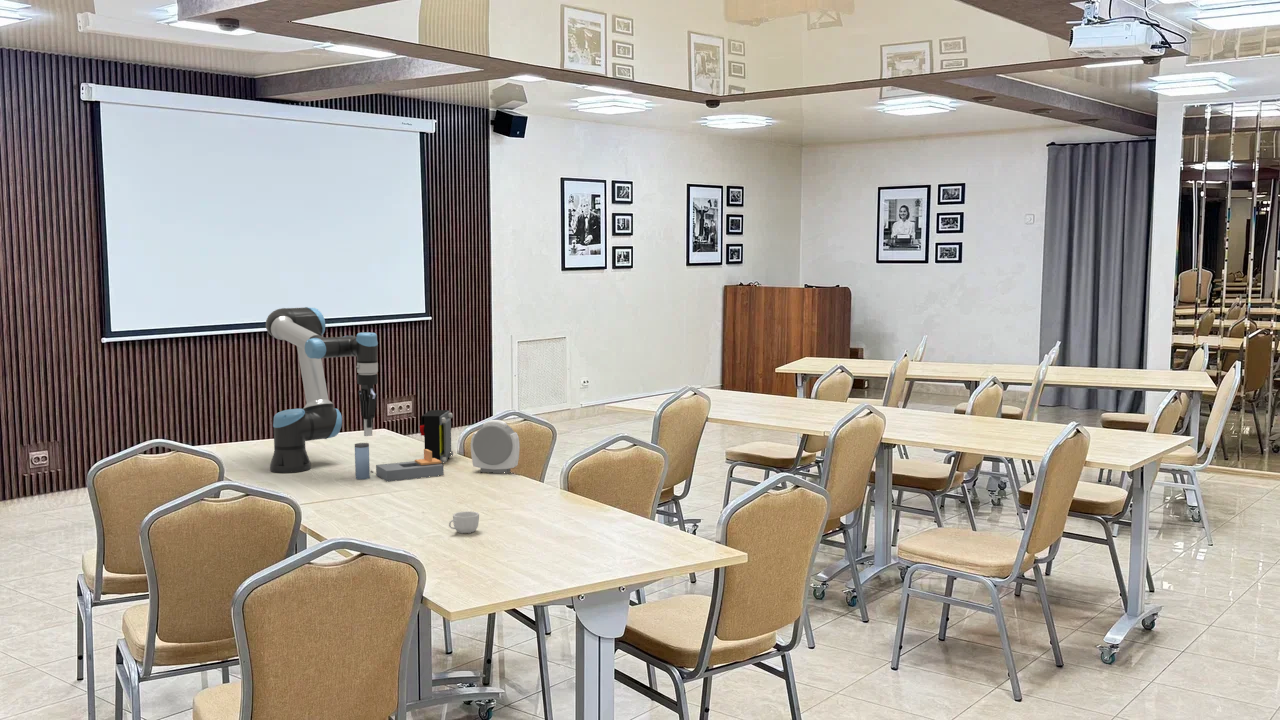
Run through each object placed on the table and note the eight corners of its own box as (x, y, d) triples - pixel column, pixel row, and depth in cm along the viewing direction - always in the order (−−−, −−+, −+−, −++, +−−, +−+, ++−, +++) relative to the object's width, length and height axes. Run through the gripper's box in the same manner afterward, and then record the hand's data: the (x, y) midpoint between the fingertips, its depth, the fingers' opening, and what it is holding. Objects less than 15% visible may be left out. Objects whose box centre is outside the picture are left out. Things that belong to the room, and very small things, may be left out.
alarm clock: (520, 470, 410) (520, 419, 408) (514, 474, 402) (514, 422, 400) (477, 469, 413) (476, 418, 411) (469, 473, 405) (469, 421, 403)
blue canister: (354, 477, 396) (353, 443, 395) (367, 476, 399) (366, 442, 398) (357, 479, 392) (356, 445, 391) (371, 478, 394) (370, 444, 393)
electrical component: (445, 465, 421) (444, 416, 419) (420, 465, 421) (419, 416, 419) (454, 457, 438) (453, 410, 437) (429, 457, 439) (429, 410, 437)
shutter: (414, 461, 405) (414, 449, 405) (434, 459, 409) (434, 447, 409) (421, 465, 398) (421, 452, 398) (441, 463, 402) (441, 450, 402)
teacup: (469, 527, 321) (469, 510, 320) (484, 531, 315) (484, 514, 315) (441, 533, 314) (441, 515, 313) (456, 537, 308) (456, 519, 308)
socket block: (376, 475, 401) (375, 464, 401) (431, 469, 412) (431, 459, 412) (386, 481, 389) (386, 470, 389) (443, 475, 400) (443, 465, 400)
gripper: (351, 372, 396) (352, 434, 398) (364, 376, 385) (365, 439, 388) (370, 371, 400) (371, 432, 403) (383, 374, 390) (384, 437, 392)
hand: (368, 435), depth 395 cm, fingers closed
